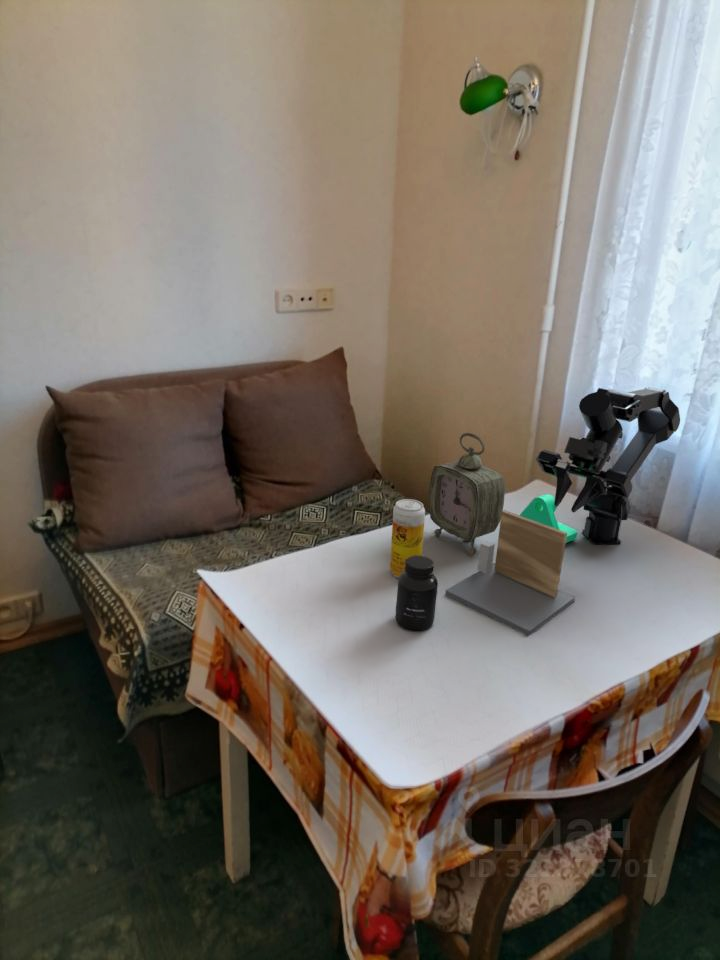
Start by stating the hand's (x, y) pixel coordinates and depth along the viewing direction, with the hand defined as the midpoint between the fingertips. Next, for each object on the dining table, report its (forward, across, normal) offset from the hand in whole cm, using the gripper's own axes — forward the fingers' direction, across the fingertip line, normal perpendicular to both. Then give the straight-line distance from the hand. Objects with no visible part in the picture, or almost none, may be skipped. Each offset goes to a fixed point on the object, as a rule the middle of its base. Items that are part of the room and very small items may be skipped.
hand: (563, 508), depth 131 cm
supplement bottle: (+35, -7, -16) cm, 39 cm away
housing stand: (+21, 0, -2) cm, 21 cm away
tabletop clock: (+13, -20, +7) cm, 25 cm away
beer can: (+27, -20, -7) cm, 34 cm away
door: (+17, 0, 0) cm, 17 cm away
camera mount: (+1, -9, +19) cm, 21 cm away
